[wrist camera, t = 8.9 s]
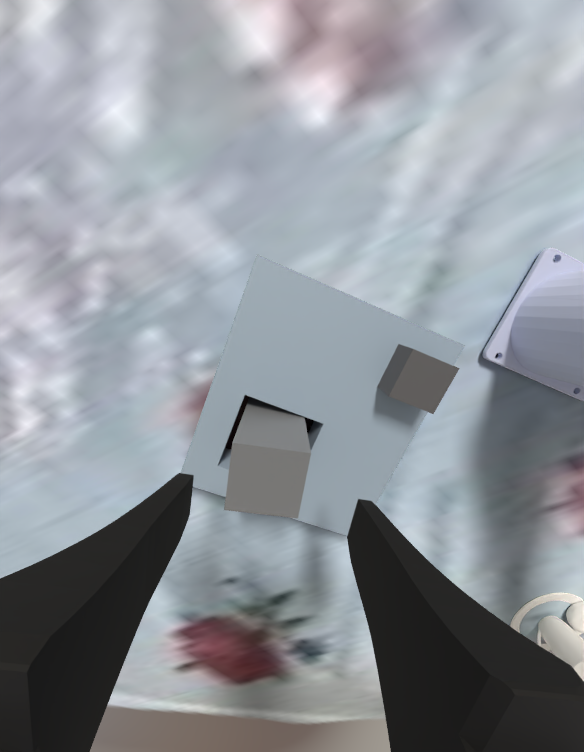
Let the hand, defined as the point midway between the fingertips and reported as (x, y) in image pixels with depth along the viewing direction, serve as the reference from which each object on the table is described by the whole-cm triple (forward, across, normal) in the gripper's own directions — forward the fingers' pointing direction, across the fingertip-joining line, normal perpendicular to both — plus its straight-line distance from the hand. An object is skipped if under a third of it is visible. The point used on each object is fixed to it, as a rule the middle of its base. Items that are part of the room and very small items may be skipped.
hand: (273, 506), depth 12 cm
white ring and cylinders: (+10, -33, +18) cm, 39 cm away
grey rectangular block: (+9, 0, +1) cm, 9 cm away
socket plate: (+9, -2, -2) cm, 10 cm away
